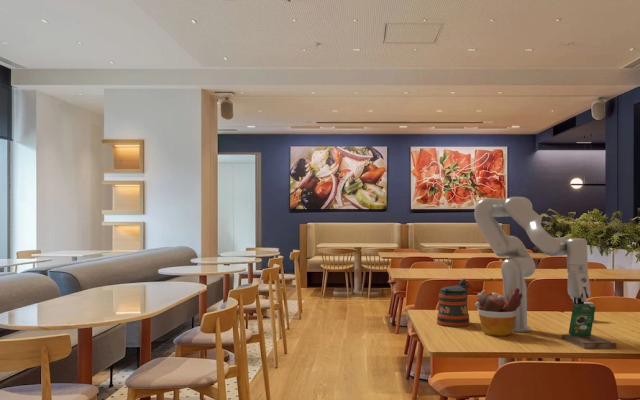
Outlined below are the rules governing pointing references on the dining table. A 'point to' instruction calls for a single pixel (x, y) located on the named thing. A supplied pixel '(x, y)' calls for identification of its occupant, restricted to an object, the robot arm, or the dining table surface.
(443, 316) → the beer stein
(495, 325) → the bucket of meat
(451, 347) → the dining table surface
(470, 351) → the dining table surface
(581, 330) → the coffee box
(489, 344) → the dining table surface
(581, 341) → the walnut board
